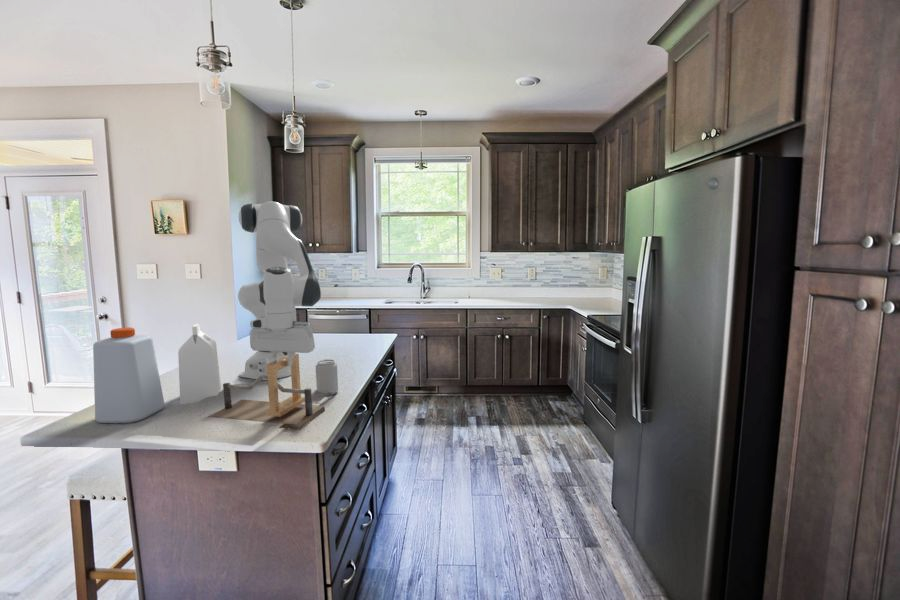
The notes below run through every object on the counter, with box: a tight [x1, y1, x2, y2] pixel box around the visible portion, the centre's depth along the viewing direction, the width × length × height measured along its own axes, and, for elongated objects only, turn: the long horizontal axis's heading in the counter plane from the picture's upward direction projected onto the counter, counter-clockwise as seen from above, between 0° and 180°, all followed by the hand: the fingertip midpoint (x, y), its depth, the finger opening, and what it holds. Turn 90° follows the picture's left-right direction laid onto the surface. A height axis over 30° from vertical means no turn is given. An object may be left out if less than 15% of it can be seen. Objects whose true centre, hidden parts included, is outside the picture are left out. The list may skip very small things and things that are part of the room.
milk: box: [177, 323, 223, 405], centre depth 152 cm, size 12×12×26 cm
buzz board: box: [207, 375, 326, 430], centre depth 134 cm, size 31×15×13 cm, turn 77°
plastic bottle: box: [92, 327, 165, 424], centre depth 135 cm, size 15×15×28 cm
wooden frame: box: [265, 353, 305, 417], centre depth 132 cm, size 5×13×16 cm, turn 167°
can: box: [315, 358, 339, 397], centre depth 154 cm, size 8×8×12 cm
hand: (283, 365), depth 131 cm, fingers closed on wooden frame
